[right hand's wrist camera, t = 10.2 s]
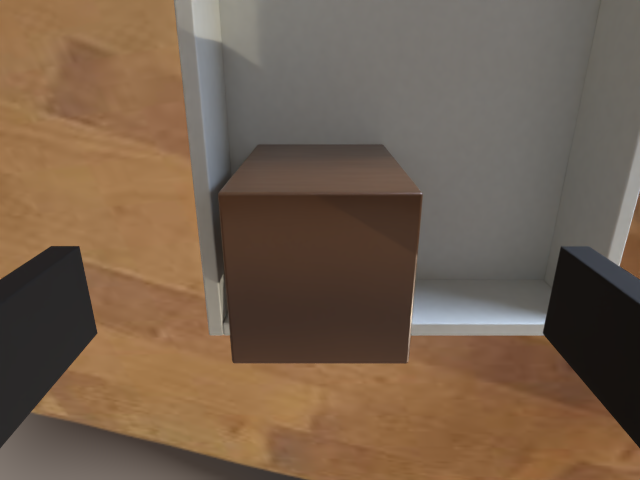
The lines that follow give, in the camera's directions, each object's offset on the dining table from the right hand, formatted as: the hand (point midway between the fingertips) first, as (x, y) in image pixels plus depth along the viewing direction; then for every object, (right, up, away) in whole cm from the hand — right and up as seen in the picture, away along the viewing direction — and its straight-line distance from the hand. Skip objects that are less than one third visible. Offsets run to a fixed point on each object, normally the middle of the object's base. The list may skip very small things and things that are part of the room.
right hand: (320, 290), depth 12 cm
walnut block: (0, +3, +8) cm, 8 cm away
